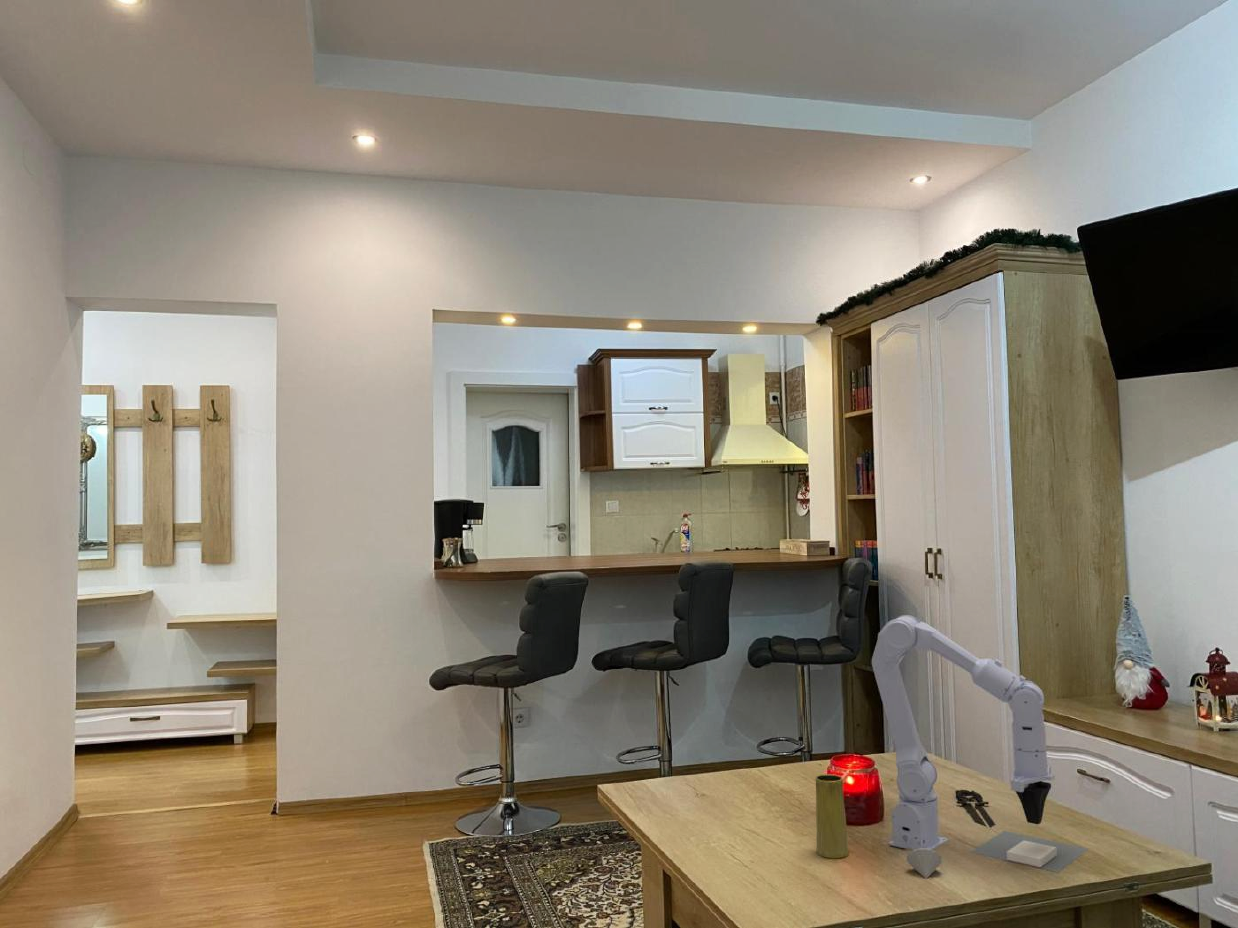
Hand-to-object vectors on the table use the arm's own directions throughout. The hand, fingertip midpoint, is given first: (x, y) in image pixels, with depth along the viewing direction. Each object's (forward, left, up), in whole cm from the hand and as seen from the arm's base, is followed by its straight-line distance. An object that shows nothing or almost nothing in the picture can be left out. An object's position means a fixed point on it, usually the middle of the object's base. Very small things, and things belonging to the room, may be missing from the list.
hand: (1034, 822), depth 171 cm
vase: (-22, +30, -7) cm, 38 cm away
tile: (+2, 0, -5) cm, 6 cm away
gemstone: (-20, +12, -7) cm, 24 cm away
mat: (+2, +2, -6) cm, 7 cm away
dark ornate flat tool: (+21, +20, -7) cm, 30 cm away
